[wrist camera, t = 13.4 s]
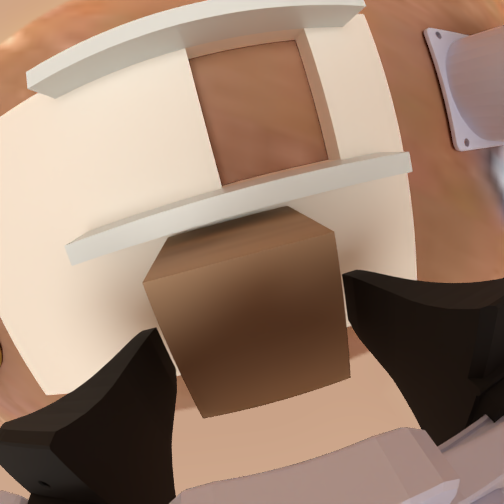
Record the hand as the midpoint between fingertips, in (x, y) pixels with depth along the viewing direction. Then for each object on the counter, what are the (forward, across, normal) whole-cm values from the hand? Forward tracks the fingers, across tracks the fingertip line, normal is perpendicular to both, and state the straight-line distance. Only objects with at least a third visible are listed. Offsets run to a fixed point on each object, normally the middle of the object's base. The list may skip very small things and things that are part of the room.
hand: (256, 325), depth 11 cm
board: (+4, +2, -4) cm, 7 cm away
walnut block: (+2, 0, -1) cm, 3 cm away
